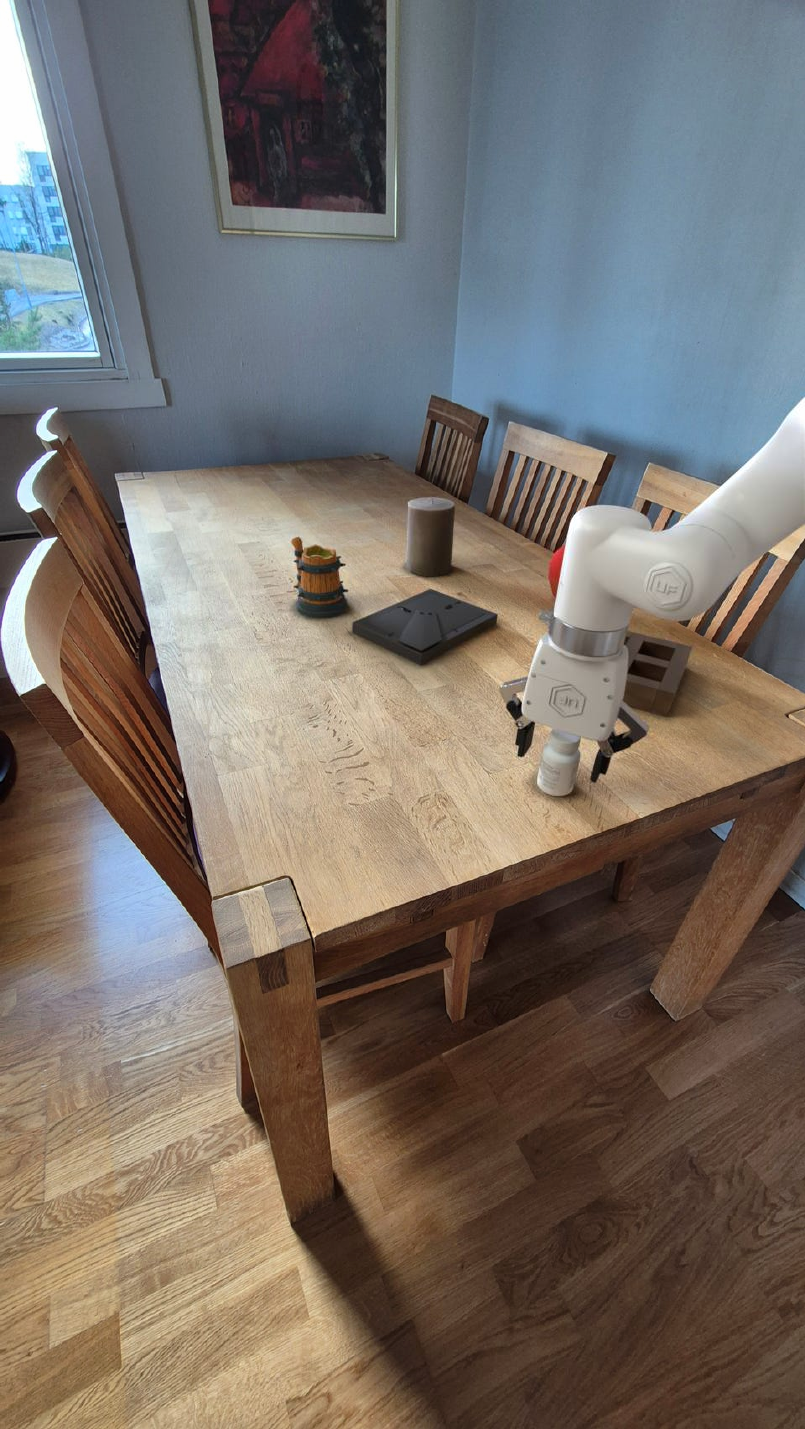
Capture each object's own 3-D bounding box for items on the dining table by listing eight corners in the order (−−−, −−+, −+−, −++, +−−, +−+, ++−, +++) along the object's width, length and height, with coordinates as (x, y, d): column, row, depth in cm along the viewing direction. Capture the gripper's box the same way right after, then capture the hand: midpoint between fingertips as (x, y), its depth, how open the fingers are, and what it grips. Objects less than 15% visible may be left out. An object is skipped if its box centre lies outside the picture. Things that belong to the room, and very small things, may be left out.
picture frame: (420, 665, 100) (496, 624, 112) (421, 649, 98) (498, 610, 111) (352, 633, 108) (430, 598, 121) (352, 618, 107) (430, 585, 119)
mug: (360, 608, 117) (359, 548, 110) (316, 624, 111) (312, 561, 104) (318, 587, 124) (315, 529, 118) (275, 600, 118) (269, 541, 112)
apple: (596, 613, 118) (609, 551, 111) (548, 611, 118) (559, 549, 111) (585, 593, 125) (597, 534, 118) (540, 591, 125) (549, 532, 118)
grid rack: (685, 668, 101) (692, 646, 99) (666, 717, 89) (674, 693, 87) (585, 642, 108) (590, 621, 105) (556, 685, 96) (560, 662, 93)
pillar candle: (452, 577, 130) (457, 504, 122) (405, 575, 130) (407, 502, 122) (450, 560, 138) (455, 491, 130) (406, 559, 138) (408, 489, 130)
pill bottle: (565, 772, 78) (576, 722, 74) (578, 795, 75) (591, 744, 71) (531, 775, 78) (541, 724, 73) (543, 798, 74) (554, 747, 70)
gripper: (495, 625, 65) (479, 756, 75) (668, 670, 58) (625, 807, 68) (521, 600, 71) (502, 725, 81) (681, 638, 64) (640, 770, 74)
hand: (559, 762), depth 74 cm, fingers open, 8 cm apart
